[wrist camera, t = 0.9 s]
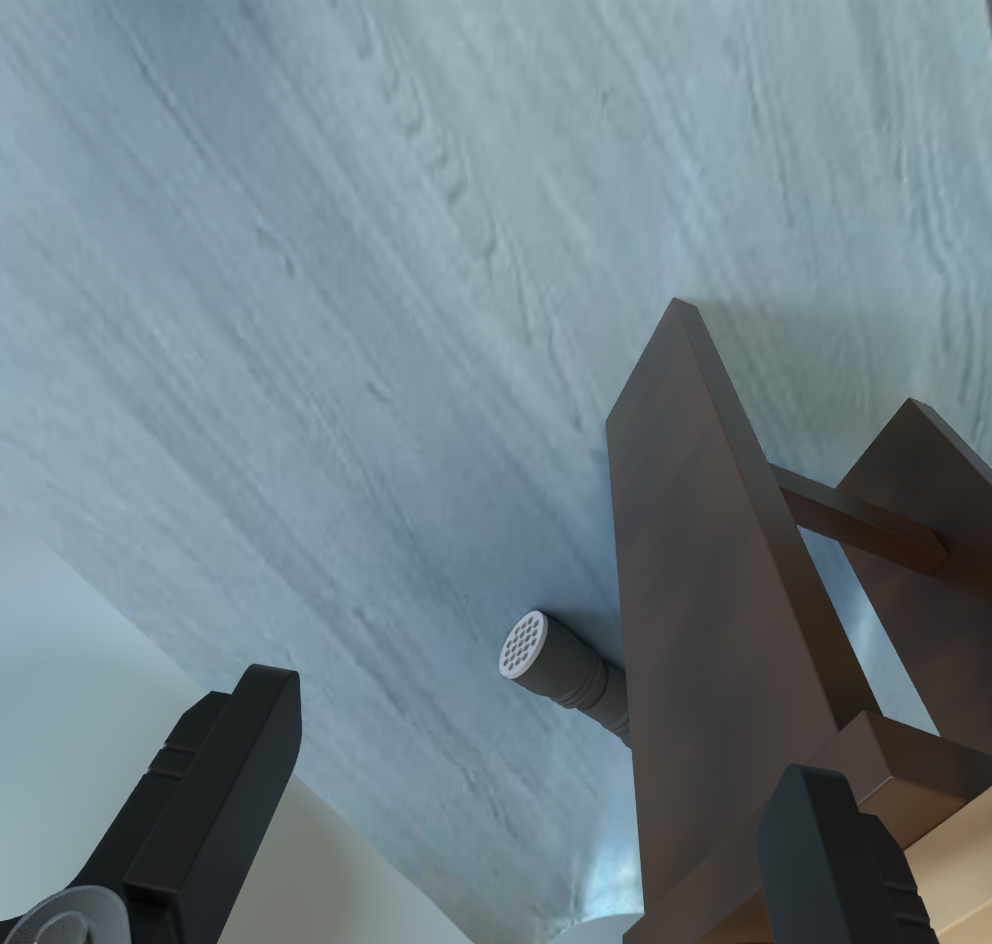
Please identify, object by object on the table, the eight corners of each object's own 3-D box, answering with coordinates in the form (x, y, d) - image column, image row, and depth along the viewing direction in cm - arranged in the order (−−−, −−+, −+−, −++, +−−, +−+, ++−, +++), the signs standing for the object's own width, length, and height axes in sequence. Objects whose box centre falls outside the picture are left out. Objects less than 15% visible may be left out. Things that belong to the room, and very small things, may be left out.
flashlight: (688, 690, 58) (698, 747, 53) (643, 722, 60) (649, 778, 56) (544, 598, 54) (541, 650, 49) (502, 636, 56) (496, 688, 52)
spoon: (785, 1043, 19) (801, 1119, 18) (634, 998, 19) (639, 1073, 17) (1637, 535, 9) (1823, 621, 8) (1359, 407, 9) (1507, 475, 7)
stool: (834, 527, 48) (1171, 1161, 21) (595, 432, 46) (624, 999, 19) (945, 394, 42) (1611, 1030, 15) (678, 279, 40) (893, 777, 13)
